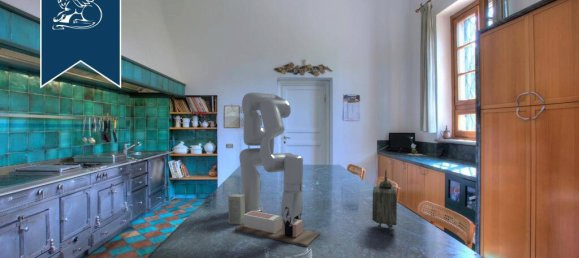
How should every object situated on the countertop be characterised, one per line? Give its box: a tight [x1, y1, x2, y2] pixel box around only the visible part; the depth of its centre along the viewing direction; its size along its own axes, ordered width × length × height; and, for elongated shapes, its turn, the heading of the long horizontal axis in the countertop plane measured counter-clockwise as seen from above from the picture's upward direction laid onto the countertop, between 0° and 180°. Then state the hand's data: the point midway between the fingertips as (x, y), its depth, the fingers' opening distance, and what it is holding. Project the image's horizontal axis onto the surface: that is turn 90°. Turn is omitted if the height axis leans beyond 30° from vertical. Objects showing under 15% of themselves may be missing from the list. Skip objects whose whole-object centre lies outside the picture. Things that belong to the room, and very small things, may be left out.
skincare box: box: [227, 193, 245, 226], centre depth 119 cm, size 6×4×12 cm
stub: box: [282, 218, 304, 237], centre depth 104 cm, size 6×6×5 cm
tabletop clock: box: [371, 169, 398, 236], centre depth 112 cm, size 14×9×25 cm, turn 160°
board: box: [235, 223, 321, 248], centre depth 108 cm, size 32×12×1 cm, turn 62°
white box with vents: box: [243, 211, 283, 233], centre depth 111 cm, size 15×6×5 cm, turn 62°
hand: (292, 232), depth 104 cm, fingers closed on stub, 6 cm apart
